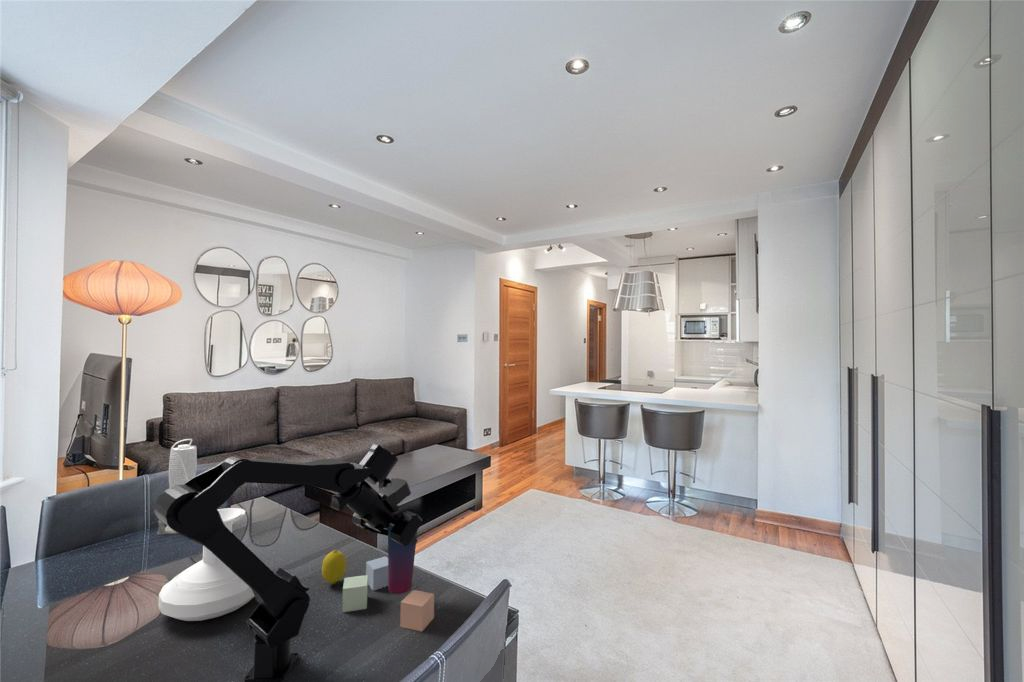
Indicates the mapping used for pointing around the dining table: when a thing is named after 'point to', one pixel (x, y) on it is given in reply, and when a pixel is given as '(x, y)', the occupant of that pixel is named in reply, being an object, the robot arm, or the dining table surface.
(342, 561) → the lemon
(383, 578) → the block slate
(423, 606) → the block terracotta
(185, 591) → the candle holder
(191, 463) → the skyscraper
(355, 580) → the block sage
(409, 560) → the cup
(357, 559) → the dining table surface
